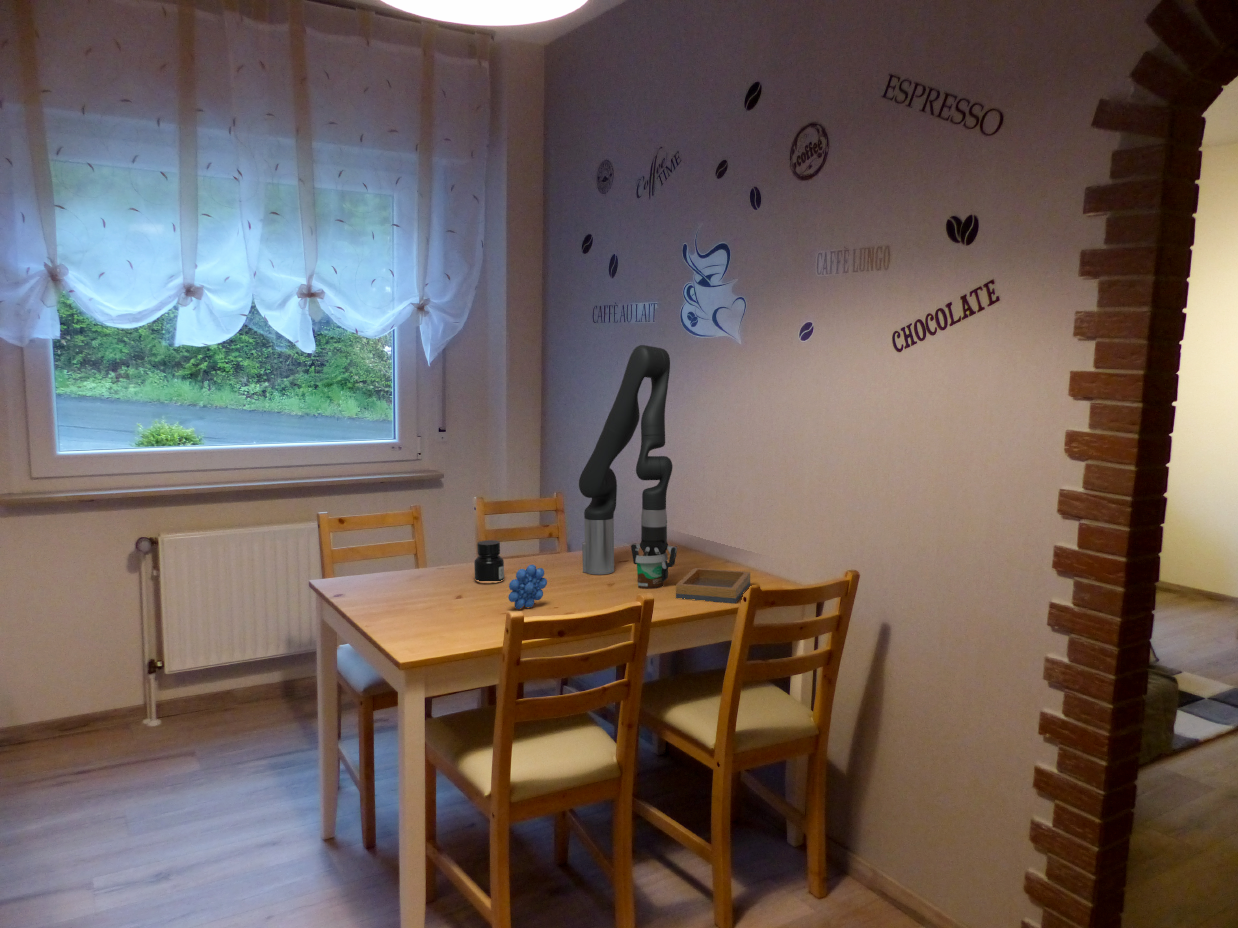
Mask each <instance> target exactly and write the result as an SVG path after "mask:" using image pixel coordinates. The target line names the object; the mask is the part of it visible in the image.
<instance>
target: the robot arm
mask: <svg viewBox="0 0 1238 928" xmlns="http://www.w3.org/2000/svg"><path fill="white" fill-rule="evenodd" d="M626 364H627V365H626V367H625V371H624V374H623V378H622V381H621V384H620V387H619V389H618V393H617V395H616V397H615V399H614V402H613V405H612V406H611V409H610V411H609V412H608V413H609V414H608V416H607V418H606V419H605V420H606V421H605V422H604V425H603V428H602V431H601V432H600V435H599V438H598V440H597V442H596V443H595V447H594V449H593V452H592V453H591V455H590V457H589V459H588V460H587V462H586V464H585V466H584V468H583V469H582V472H581V474H580V476H579V480H578V487H579V488H578V489H579V491H580V493H581V495H582V496H583V497H585V498H588V499H591V501H590V503H589V504H588V506H587V507H585V509H584V513H583V514H584V518H583V519H584V525H583V526H584V541H583V542H582V548H581V549H582V573H587V574H588V575H600V576H601V575H607V574H612V573H614V572H615V528H614V527H615V523H614V522H615V519H614V517H615V516H614V515H615V511H616V509H617V496H618V495H617V494H618V491H617V490H618V481H617V476H616V474H615V472H614V470H613V469H612V468H611V465H612V463H613V462H614V461H615V460H616V458H617V457H618V456H619V455H620V454H621V452H623V450H624V449H625V448H626V446H627V445H628V444H629V443H630V441H631V440H632V438H633V437H634V433H635V432H636V429H637V427H638V424H639V422H640V437H641V438H640V439H641V440H640V442H641V443H640V449H639V455H638V458H637V460H636V461H637V463H636V467H635V473H636V476H637V477H638V479H639V480H641V481H658V483H657V484H656V485H655V486H652V487H647V488H645V489H643V490H642V492H641V493H642V494H641V495H642V496H641V499H642V501H641V504H642V505H641V506H642V507H641V509H642V510H641V515H640V516H641V520H640V525H641V526H640V527H641V528H640V529H641V530H640V532H641V533H640V535H641V537H640V538H641V541H640V543H636V542H635V543H633V544H631V545H630V549H631V555H632V562H633V564H634V565H637V563H636V562H635V561H636V555H638V556H640V553H639V551H640V549H641V551H642V552H643V555H642V556H657V555H662V554H665V551H666V552H667V550H668V554H670V555H669V558H668V559H669V560H666V561H664V560H663V561H664V562H662V567H663V569H662V581H664V582H666V580H667V579H668V578H669V568H672V567H673V566H675V563H676V558H677V551H678V547H677V546H676V545H674V546H672V545H669V543H668V542H667V541H668V529H667V528H668V525H667V524H668V514H667V513H668V512H667V493H668V492H667V491H668V486H669V482H670V479H671V477H672V476H671V475H672V472H673V461H672V460H671V458H669V456H666V455H659V456H657V455H655V456H654V455H652V456H651V455H650V456H649V453H650V451H653V450H656V449H661V448H664V447H665V445H666V403H667V402H666V401H667V396H668V389H669V387H668V386H669V379H670V372H671V357H670V355H669V353H668V351H667V350H665V349H664V348H662V347H656V346H653V345H652V346H650V345H645V344H640V345H638V346H636V347H635V348H634V349H633V350H632V352H631V354H630V356H629V358H628V362H627V363H626ZM645 378H648V379H650V382H651V391H650V395H649V399H648V401H647V403H646V405H645V407H644V409H643V412H642V415H641V419H640V407H639V406H640V405H639V399H638V398H639V397H638V396H639V391H640V388H641V385H642V383H643V381H644V379H645ZM661 557H662V556H661Z"/></svg>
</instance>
